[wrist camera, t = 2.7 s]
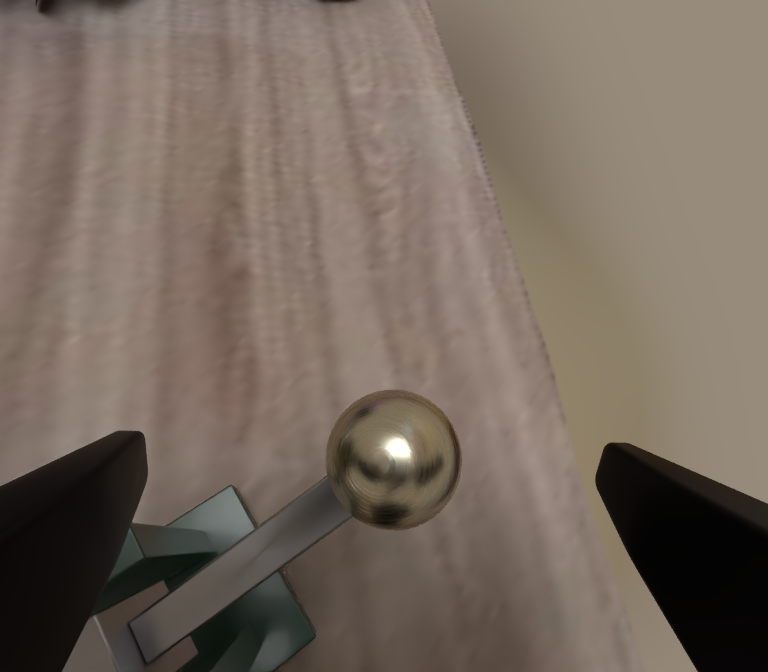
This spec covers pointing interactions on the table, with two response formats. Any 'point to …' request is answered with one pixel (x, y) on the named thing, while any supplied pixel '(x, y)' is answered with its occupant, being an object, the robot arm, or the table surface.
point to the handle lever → (290, 531)
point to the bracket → (240, 620)
